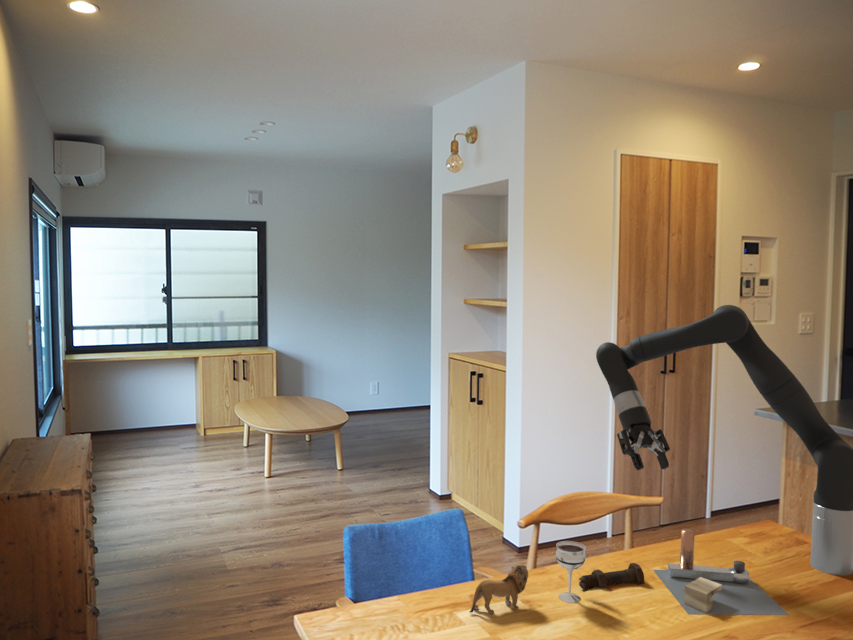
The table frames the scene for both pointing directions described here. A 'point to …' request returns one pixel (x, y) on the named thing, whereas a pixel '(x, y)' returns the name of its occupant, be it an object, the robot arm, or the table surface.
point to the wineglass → (570, 564)
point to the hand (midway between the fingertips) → (653, 468)
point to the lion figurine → (502, 588)
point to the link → (693, 571)
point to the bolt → (612, 577)
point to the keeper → (701, 593)
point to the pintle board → (726, 596)
